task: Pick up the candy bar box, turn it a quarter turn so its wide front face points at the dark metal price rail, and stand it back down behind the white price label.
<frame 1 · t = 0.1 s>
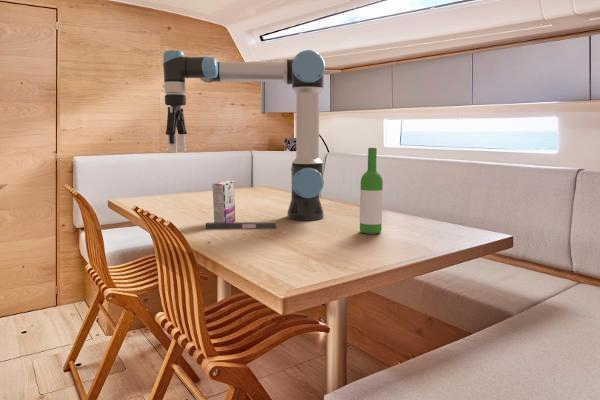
hand: (177, 152, 176), 28 cm above the table, fingers open, 13 cm apart
wine bottle: (370, 232, 166), on the table
price rail: (241, 228, 173), on the table
candy bar box: (224, 224, 181), on the table
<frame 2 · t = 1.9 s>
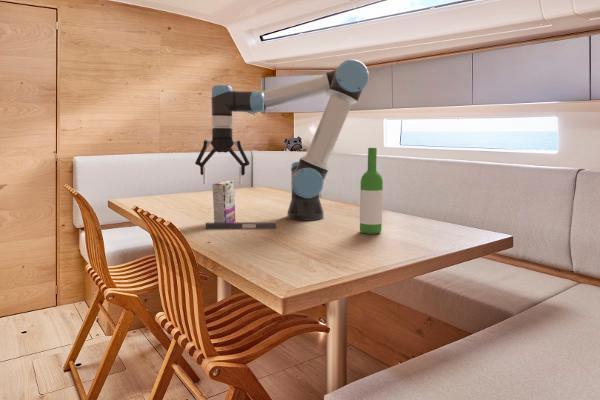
hand: (222, 183, 178), 16 cm above the table, fingers open, 13 cm apart
nothing on the table moved.
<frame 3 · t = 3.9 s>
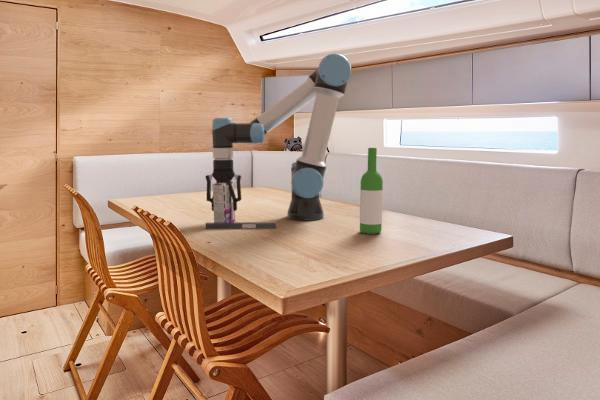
hand: (224, 218, 180), 2 cm above the table, fingers closed on candy bar box, 6 cm apart
candy bar box: (224, 224, 181), on the table, touching gripper
everything else where it was.
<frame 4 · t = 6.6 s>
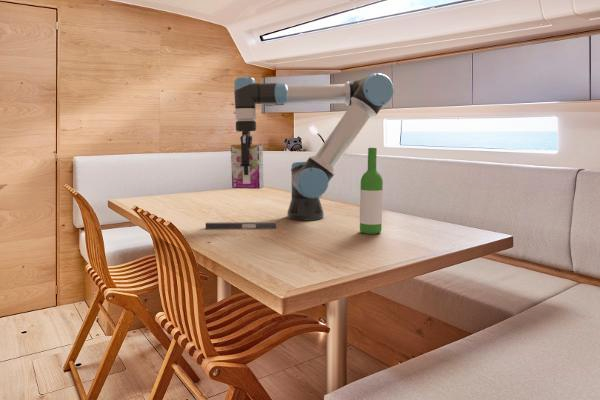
hand: (247, 182, 176), 16 cm above the table, fingers closed on candy bar box, 6 cm apart
candy bar box: (247, 188, 176), point 14 cm above the table, touching gripper
everything else where it was.
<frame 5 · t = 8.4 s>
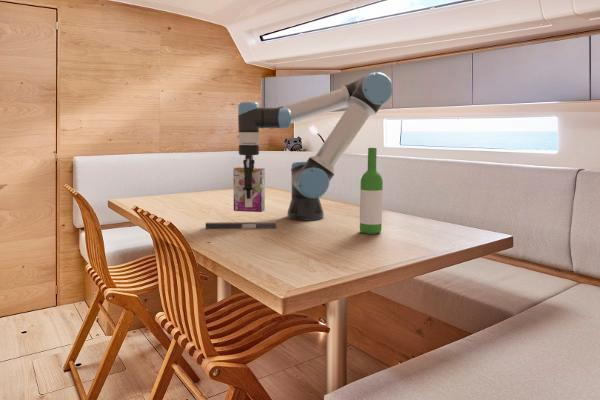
hand: (249, 205, 177), 8 cm above the table, fingers closed on candy bar box, 6 cm apart
candy bar box: (249, 211, 177), point 5 cm above the table, touching gripper
everything else where it was.
when the fingers open (4 cm above the table, at t = 9.5 s): candy bar box drops 1 cm, on the table.
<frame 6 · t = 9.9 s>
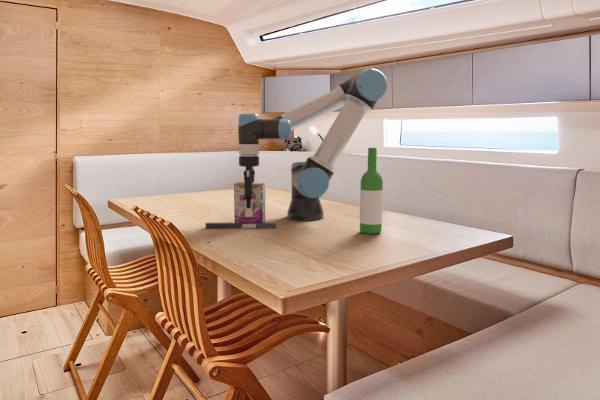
hand: (249, 213, 178), 4 cm above the table, fingers open, 10 cm apart
candy bar box: (250, 226, 178), on the table
everything else where it was.
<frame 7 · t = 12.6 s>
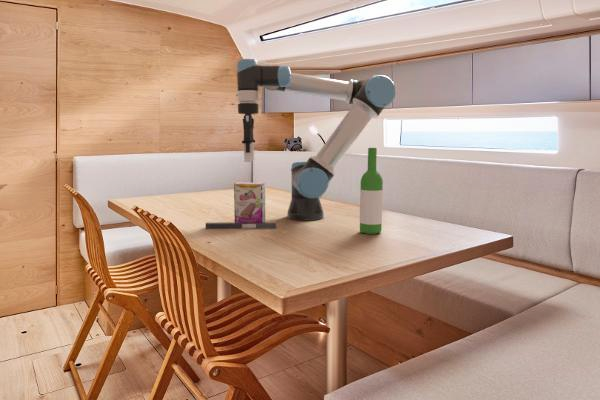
hand: (249, 160, 175), 25 cm above the table, fingers open, 13 cm apart
nothing on the table moved.
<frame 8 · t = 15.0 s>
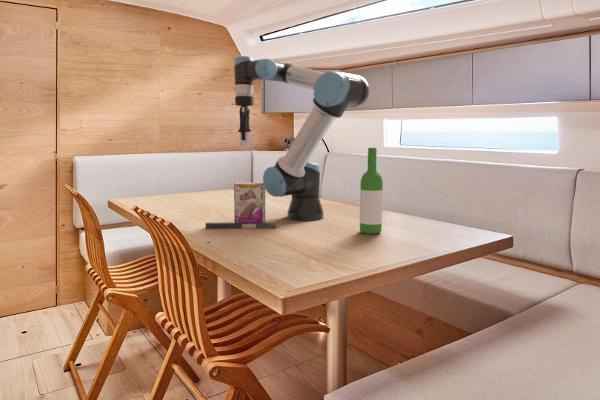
hand: (245, 148, 194), 29 cm above the table, fingers open, 13 cm apart
nothing on the table moved.
at the end: candy bar box 0.4 cm from the target spot, on the table; candy bar box tilted 0°; the gripper is holding nothing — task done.
